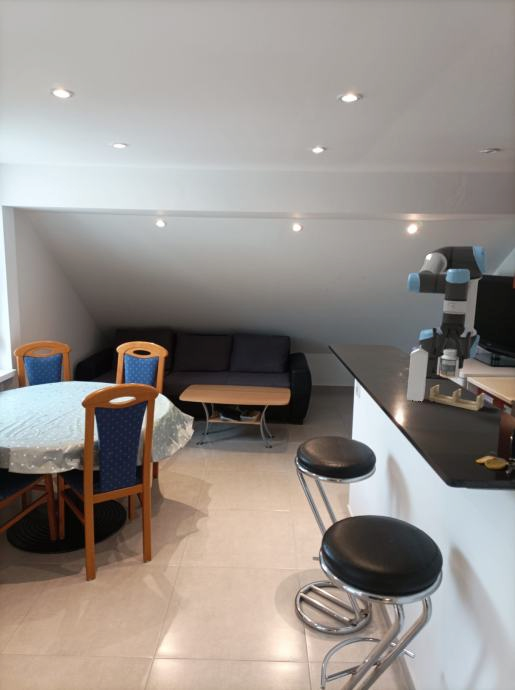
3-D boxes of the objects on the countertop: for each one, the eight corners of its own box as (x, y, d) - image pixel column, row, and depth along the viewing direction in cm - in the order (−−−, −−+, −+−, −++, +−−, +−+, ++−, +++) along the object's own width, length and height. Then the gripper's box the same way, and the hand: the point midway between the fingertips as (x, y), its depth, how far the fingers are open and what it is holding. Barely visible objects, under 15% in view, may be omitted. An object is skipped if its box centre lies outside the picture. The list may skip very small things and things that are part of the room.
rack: (436, 396, 185) (437, 384, 184) (483, 406, 174) (484, 393, 173) (429, 400, 179) (430, 387, 178) (476, 410, 168) (478, 397, 167)
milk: (406, 400, 179) (410, 345, 176) (408, 396, 185) (413, 343, 181) (422, 402, 177) (427, 347, 173) (424, 398, 182) (429, 344, 178)
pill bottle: (442, 373, 169) (444, 347, 167) (458, 376, 165) (460, 350, 164) (437, 376, 165) (439, 349, 163) (453, 379, 161) (456, 352, 159)
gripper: (424, 311, 164) (418, 372, 168) (479, 315, 152) (471, 382, 156) (431, 309, 170) (426, 369, 174) (485, 314, 158) (478, 378, 162)
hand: (447, 375), depth 165 cm, fingers closed on pill bottle, 6 cm apart
